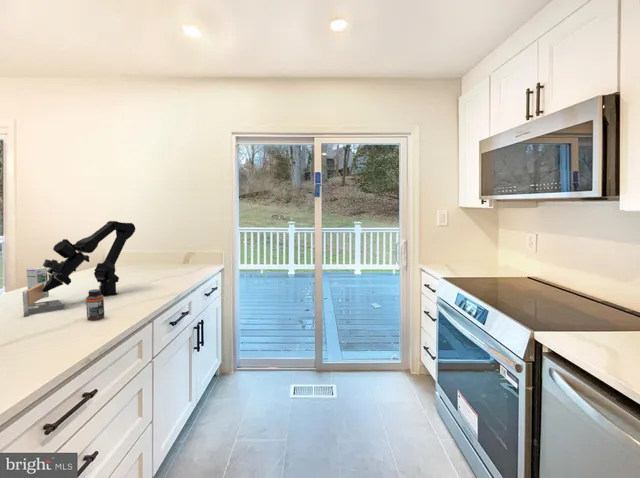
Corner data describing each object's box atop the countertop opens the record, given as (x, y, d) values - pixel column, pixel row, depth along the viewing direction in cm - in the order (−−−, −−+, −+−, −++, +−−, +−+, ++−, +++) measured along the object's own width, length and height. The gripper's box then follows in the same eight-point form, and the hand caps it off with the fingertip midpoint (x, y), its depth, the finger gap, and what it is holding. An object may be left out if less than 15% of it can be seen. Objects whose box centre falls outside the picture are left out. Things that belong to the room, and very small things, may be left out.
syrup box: (38, 299, 176) (36, 268, 175) (27, 298, 178) (26, 268, 176) (49, 296, 182) (47, 266, 181) (39, 295, 183) (37, 266, 182)
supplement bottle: (91, 316, 151) (90, 288, 150) (107, 315, 151) (106, 288, 150) (83, 320, 145) (82, 291, 144) (99, 320, 145) (98, 291, 144)
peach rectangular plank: (44, 296, 165) (43, 283, 164) (29, 305, 151) (28, 290, 150) (40, 297, 164) (39, 283, 164) (25, 305, 150) (24, 291, 150)
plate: (58, 304, 168) (57, 282, 167) (65, 310, 158) (64, 287, 158) (19, 309, 158) (17, 286, 157) (24, 316, 149) (22, 292, 148)
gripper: (51, 250, 171) (22, 277, 164) (60, 254, 158) (29, 284, 151) (72, 265, 177) (45, 291, 170) (82, 270, 164) (54, 299, 158)
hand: (43, 291), depth 162 cm, fingers closed
